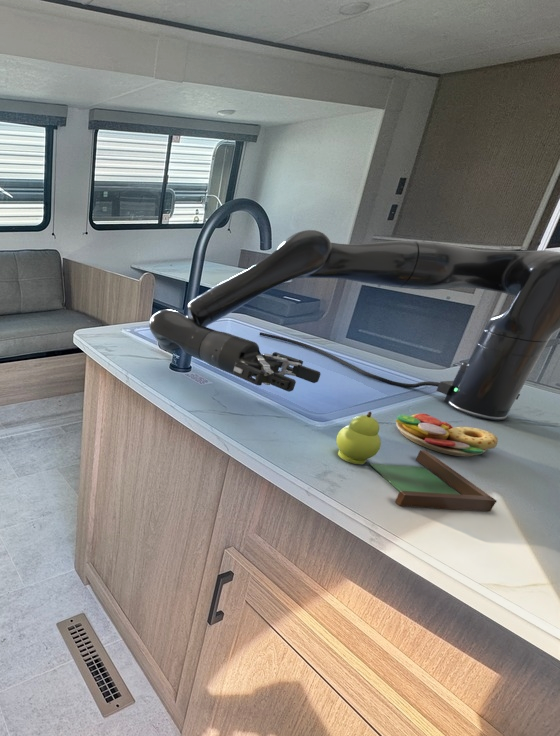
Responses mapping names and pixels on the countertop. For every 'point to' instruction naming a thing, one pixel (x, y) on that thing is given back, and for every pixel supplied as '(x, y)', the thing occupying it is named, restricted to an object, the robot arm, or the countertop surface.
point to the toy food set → (445, 435)
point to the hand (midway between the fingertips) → (306, 382)
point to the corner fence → (434, 486)
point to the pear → (359, 439)
